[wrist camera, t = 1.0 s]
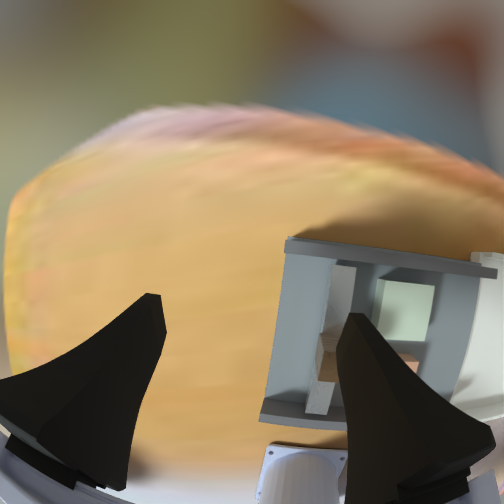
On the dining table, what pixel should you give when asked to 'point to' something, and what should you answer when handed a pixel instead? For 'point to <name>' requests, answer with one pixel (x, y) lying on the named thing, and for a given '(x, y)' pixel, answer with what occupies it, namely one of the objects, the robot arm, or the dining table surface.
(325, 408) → the pale grey block
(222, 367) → the dining table surface
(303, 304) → the plate
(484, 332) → the box
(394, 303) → the sage tile
